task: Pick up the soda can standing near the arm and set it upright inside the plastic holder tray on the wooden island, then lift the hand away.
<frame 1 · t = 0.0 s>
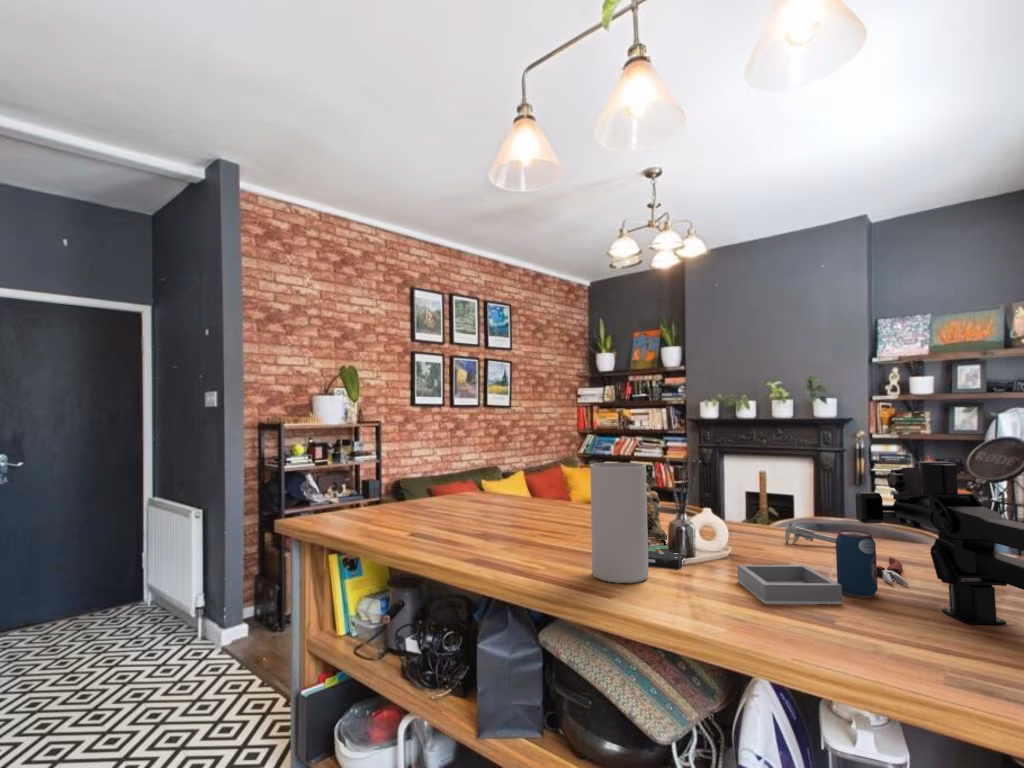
hand: (880, 501, 124), 17 cm above the kitchen island, tool horizontal, fingers open, 9 cm apart
pliers: (874, 575, 126), on the kitchen island
soda can: (857, 594, 112), on the kitchen island
owl figurine: (647, 542, 160), on the kitchen island
holder tray: (786, 592, 113), on the kitchen island
cylinder vase: (620, 577, 125), on the kitchen island
caliper: (826, 547, 152), on the kitchen island
disk drive: (663, 562, 140), on the kitchen island
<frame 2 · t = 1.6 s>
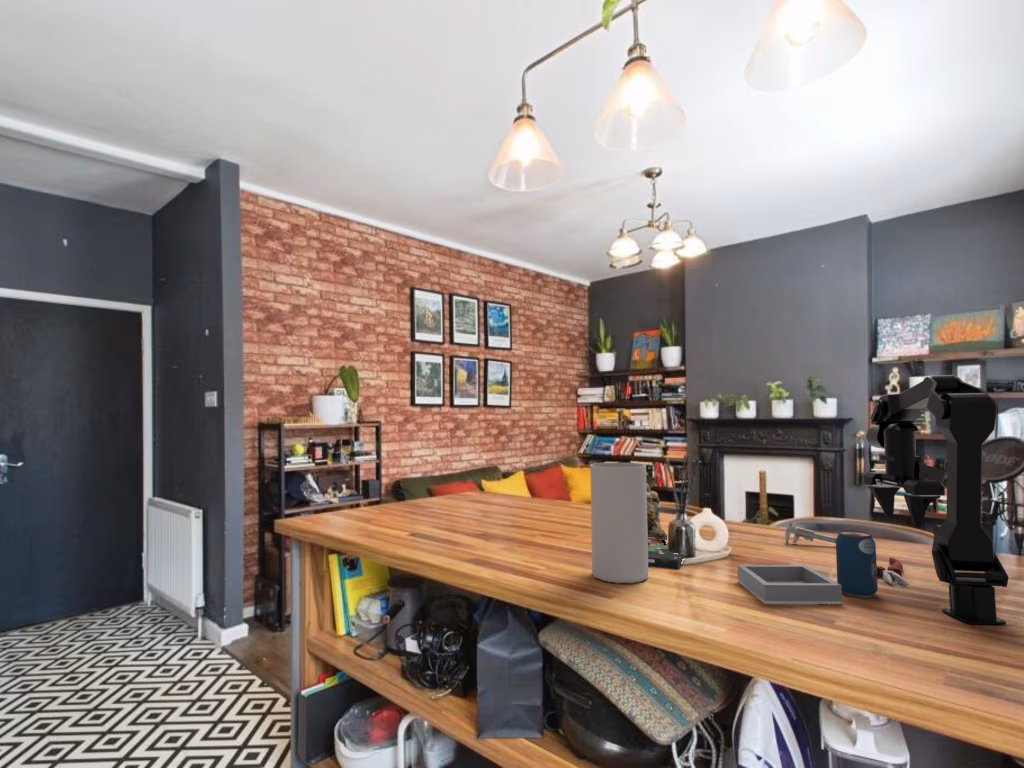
hand: (903, 522, 122), 12 cm above the kitchen island, tool pointing down, fingers open, 9 cm apart
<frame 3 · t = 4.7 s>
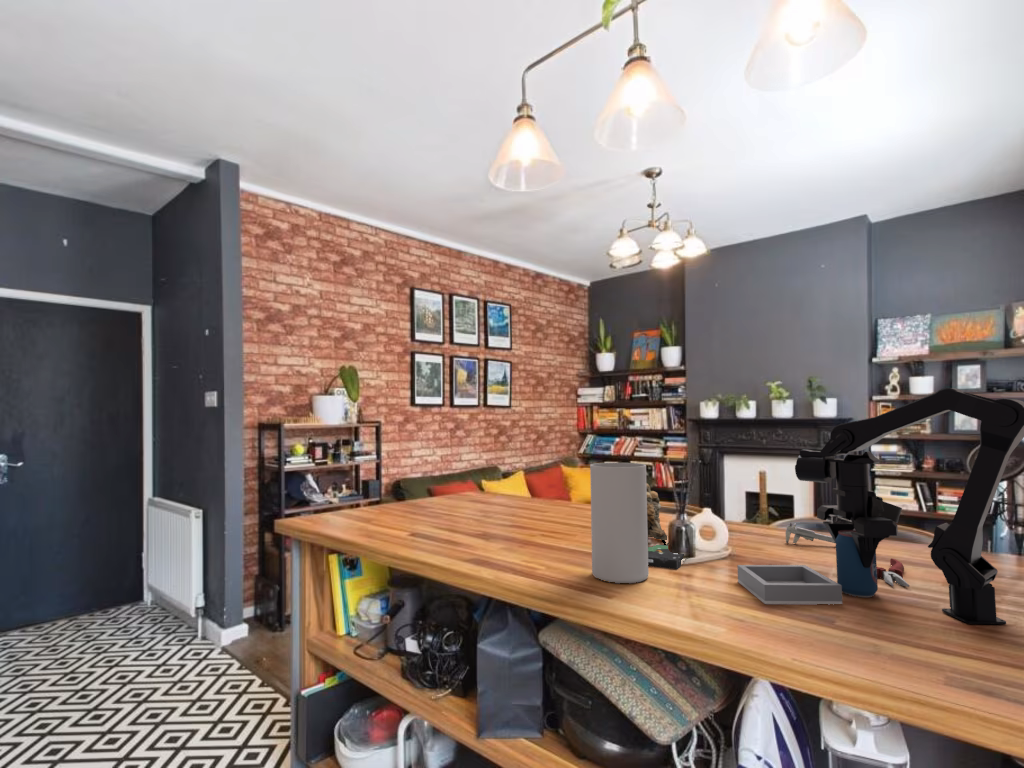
hand: (856, 562, 113), 6 cm above the kitchen island, tool pointing down, fingers closed on soda can, 7 cm apart
soda can: (857, 593, 112), on the kitchen island, touching gripper
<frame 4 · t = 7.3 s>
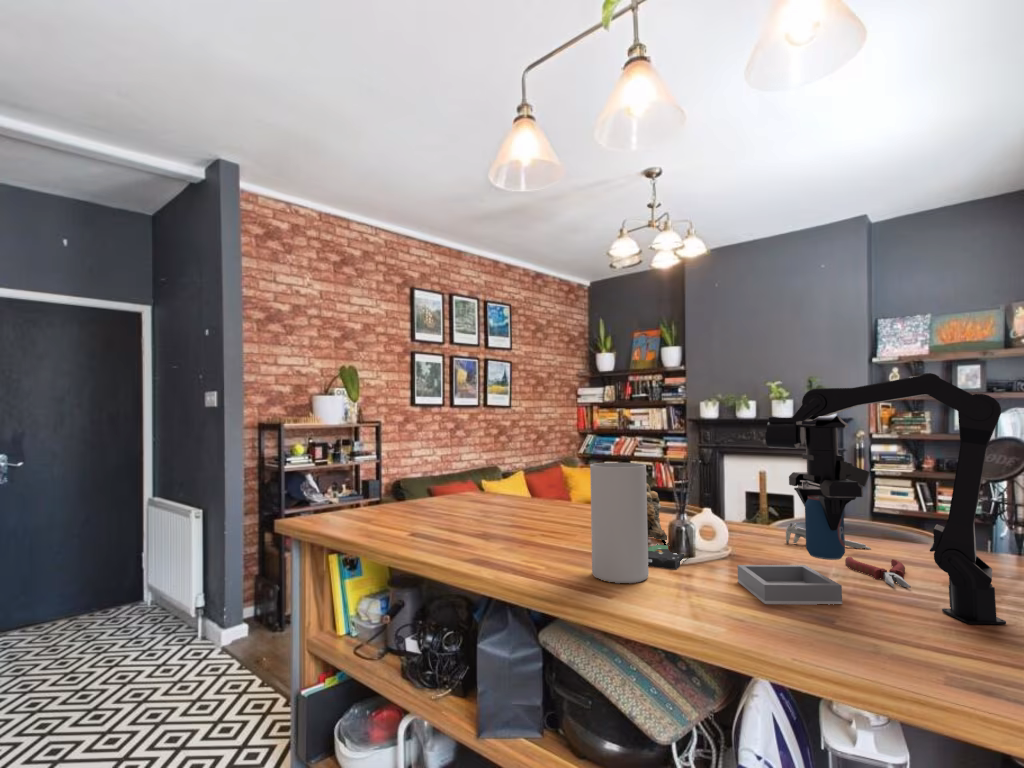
hand: (824, 526, 113), 13 cm above the kitchen island, tool pointing down, fingers closed on soda can, 7 cm apart
soda can: (825, 557, 113), point 7 cm above the kitchen island, touching gripper
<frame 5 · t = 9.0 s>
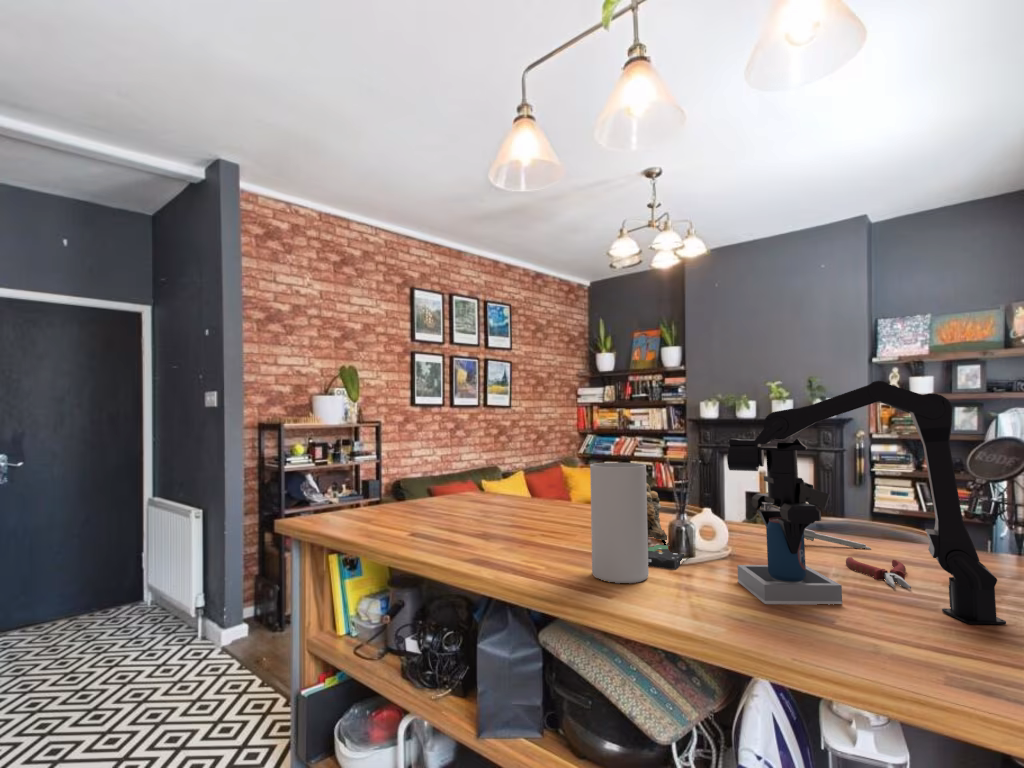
hand: (785, 549, 113), 9 cm above the kitchen island, tool pointing down, fingers closed on soda can, 7 cm apart
soda can: (787, 580, 113), point 2 cm above the kitchen island, touching gripper
when the fingers open (8 cm above the kitchen island, at t = 10.2 s): soda can drops 1 cm, resting on holder tray.
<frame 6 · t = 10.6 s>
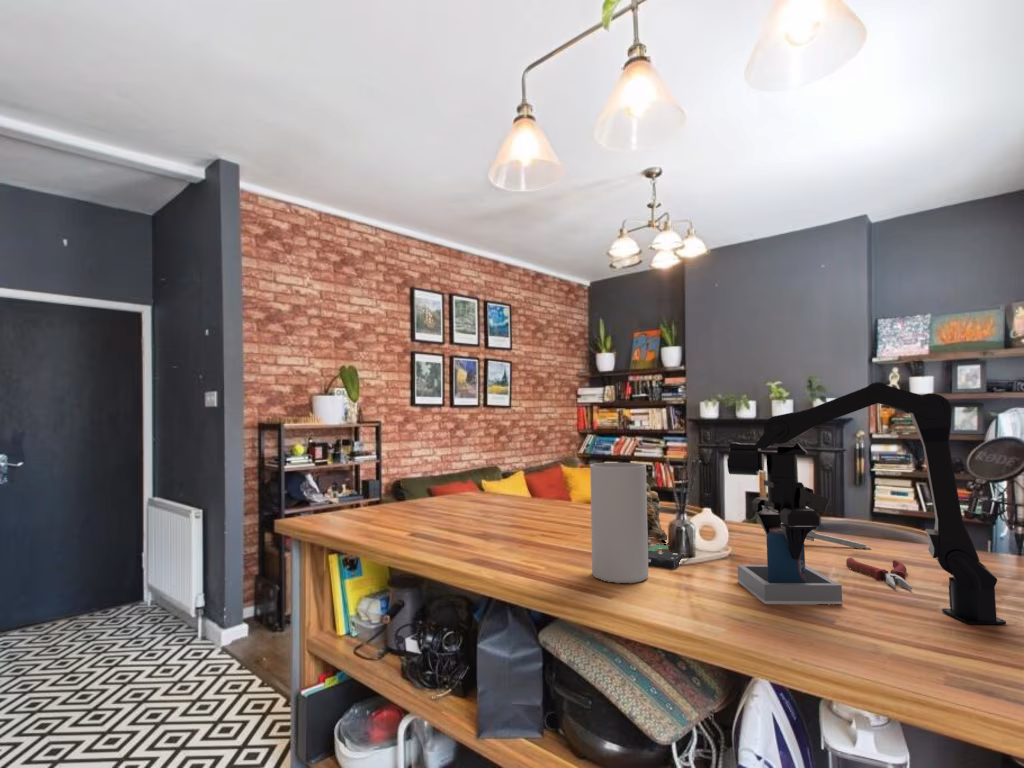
hand: (785, 553, 113), 8 cm above the kitchen island, tool pointing down, fingers open, 9 cm apart
soda can: (786, 590, 113), resting on holder tray
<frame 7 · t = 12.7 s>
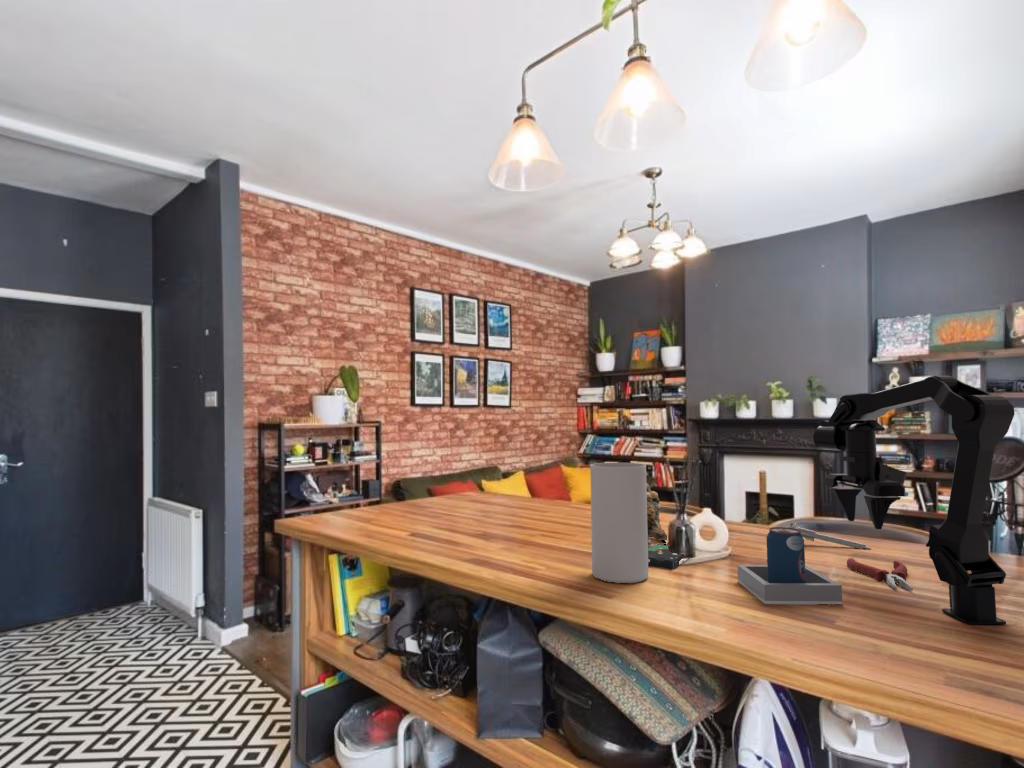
hand: (864, 524, 119), 12 cm above the kitchen island, tool pointing down, fingers open, 9 cm apart
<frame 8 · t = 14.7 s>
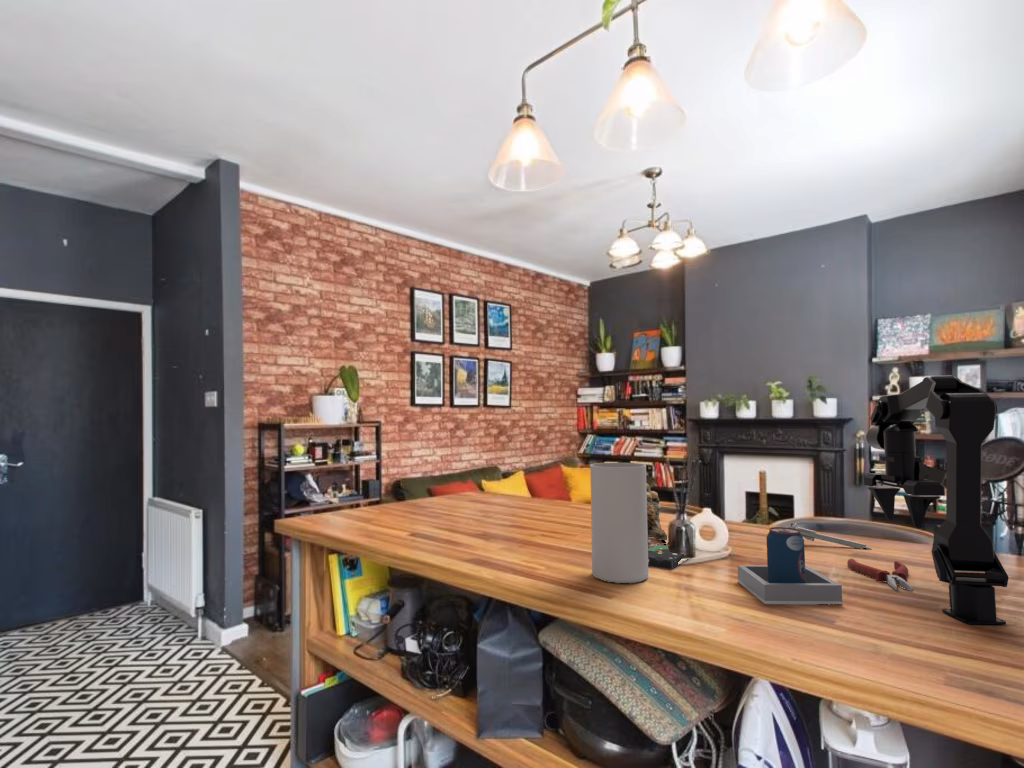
hand: (903, 523, 122), 12 cm above the kitchen island, tool pointing down, fingers open, 9 cm apart
at the end: soda can inside the target area on the holder tray (0.1 cm from its centre), point 0.4 cm above the holder tray's base; soda can tilted 0°; the gripper is holding nothing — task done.
